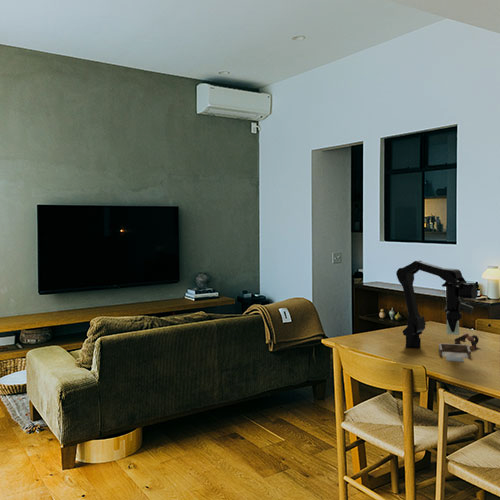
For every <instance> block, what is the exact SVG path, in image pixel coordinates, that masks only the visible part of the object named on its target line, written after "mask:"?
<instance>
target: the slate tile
mask: <svg viewBox="0 0 500 500" xmlns="http://www.w3.org/2000/svg"><path fill="white" fill-rule="evenodd" d="M445 360H446V362H455V363H456V362H457V363H464V361H465V360H464V358H462V357H447V356H446V357H445Z"/></svg>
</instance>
